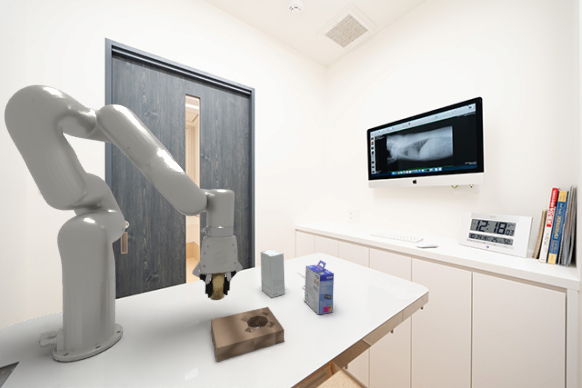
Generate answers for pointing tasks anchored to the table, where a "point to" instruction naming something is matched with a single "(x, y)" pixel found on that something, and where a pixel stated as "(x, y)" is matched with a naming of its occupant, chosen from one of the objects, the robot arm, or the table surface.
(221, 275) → the brass cylinder
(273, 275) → the skincare box
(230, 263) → the robot arm
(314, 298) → the ink cartridge box
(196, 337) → the table surface
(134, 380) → the table surface
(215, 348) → the jig
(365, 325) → the table surface
